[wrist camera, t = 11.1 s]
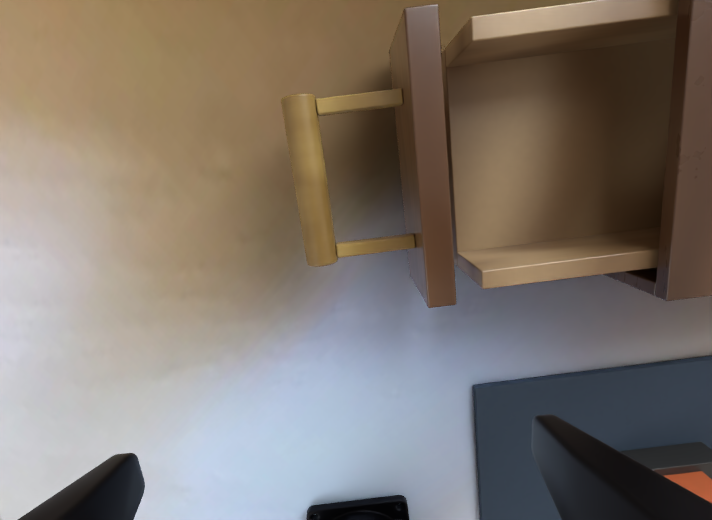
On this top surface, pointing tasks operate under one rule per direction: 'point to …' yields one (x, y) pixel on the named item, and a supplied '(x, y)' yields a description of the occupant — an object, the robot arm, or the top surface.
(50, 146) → the top surface
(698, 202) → the cabinet
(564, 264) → the drawer
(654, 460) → the stamp
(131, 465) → the robot arm
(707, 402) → the mat
